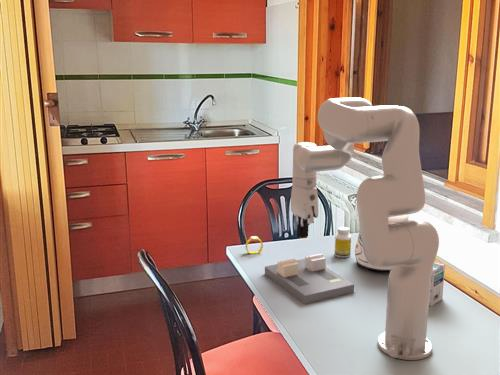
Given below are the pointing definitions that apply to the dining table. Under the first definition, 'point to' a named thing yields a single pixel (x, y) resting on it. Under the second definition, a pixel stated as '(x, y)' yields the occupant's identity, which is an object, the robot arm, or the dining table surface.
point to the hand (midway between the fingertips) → (302, 236)
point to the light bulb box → (436, 283)
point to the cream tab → (288, 268)
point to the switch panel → (311, 283)
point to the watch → (254, 239)
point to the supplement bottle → (343, 242)
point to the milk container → (360, 253)
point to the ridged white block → (315, 262)
